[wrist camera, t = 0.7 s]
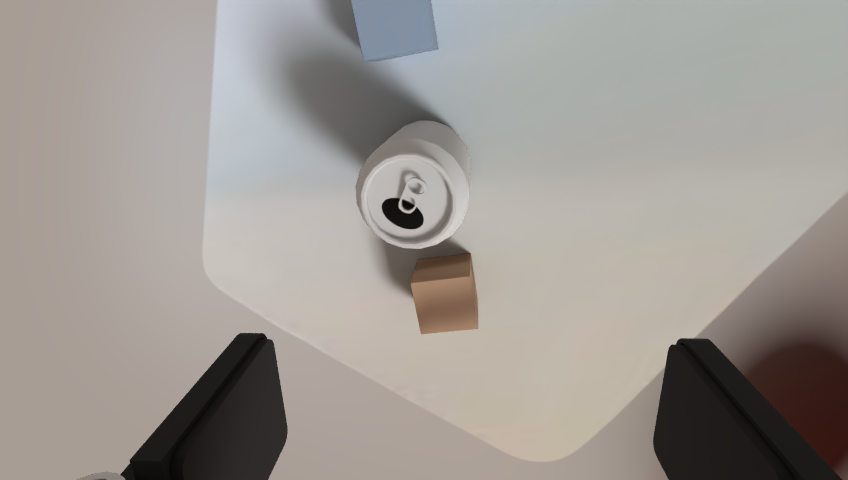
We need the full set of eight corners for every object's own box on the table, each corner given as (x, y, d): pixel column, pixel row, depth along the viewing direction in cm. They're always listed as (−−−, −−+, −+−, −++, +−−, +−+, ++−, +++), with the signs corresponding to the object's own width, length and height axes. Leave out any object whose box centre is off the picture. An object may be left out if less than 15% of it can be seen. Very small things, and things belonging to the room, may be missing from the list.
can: (370, 180, 41) (331, 225, 30) (407, 102, 38) (379, 120, 27) (445, 219, 41) (433, 278, 30) (486, 145, 38) (491, 179, 27)
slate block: (363, -8, 35) (347, -18, 31) (427, -22, 35) (420, -35, 30) (377, 61, 37) (363, 61, 32) (438, 49, 36) (433, 47, 32)
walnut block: (417, 259, 43) (410, 283, 38) (470, 252, 42) (469, 276, 38) (426, 305, 45) (421, 334, 40) (478, 300, 44) (478, 328, 39)
